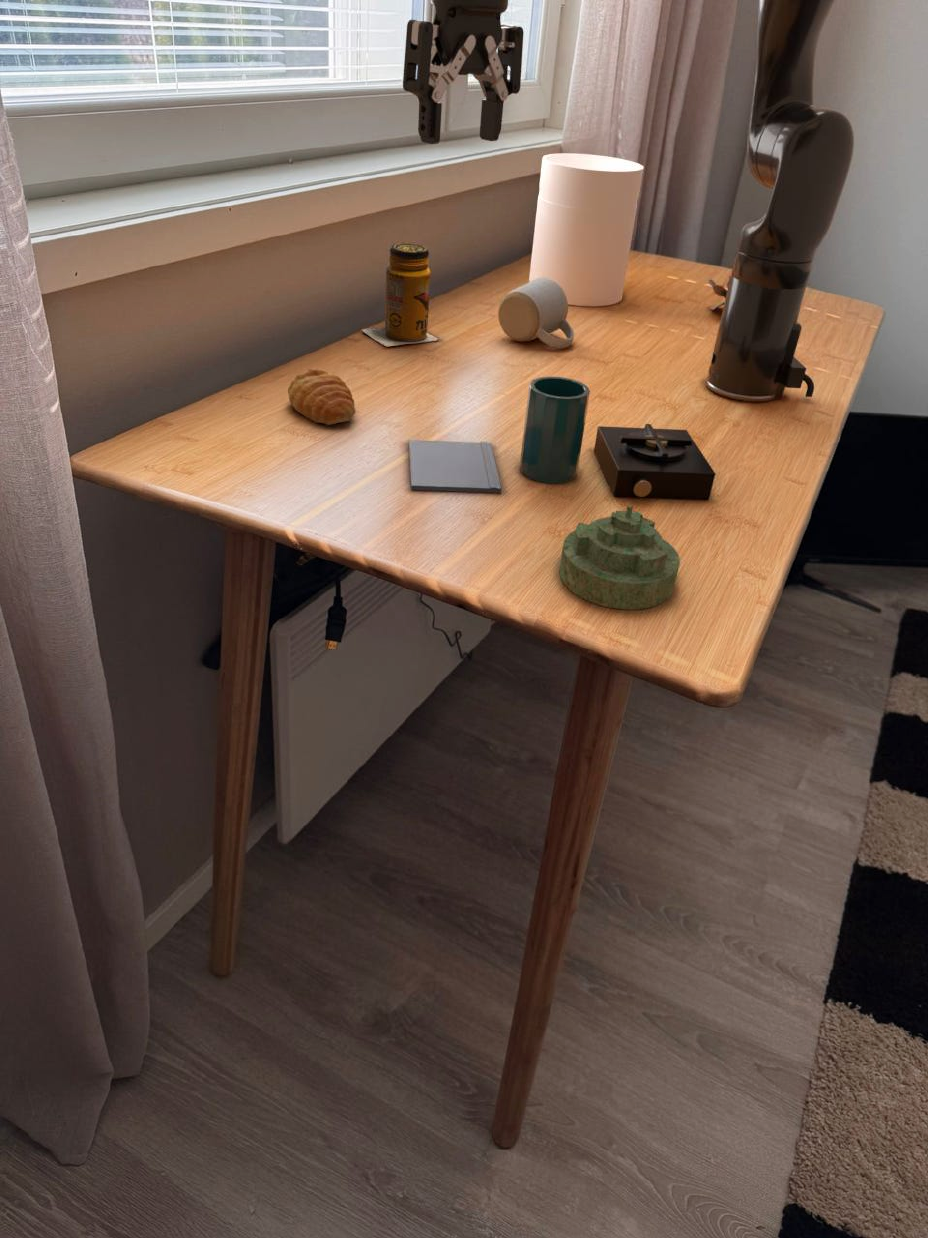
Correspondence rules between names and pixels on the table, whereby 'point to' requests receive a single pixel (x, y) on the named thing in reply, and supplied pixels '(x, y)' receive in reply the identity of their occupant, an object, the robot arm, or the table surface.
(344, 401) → the pastry
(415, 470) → the grey notebook
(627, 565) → the decorative artifact
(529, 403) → the dark teal cup
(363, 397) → the table surface
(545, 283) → the ceramic mug
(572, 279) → the canister
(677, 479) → the stove
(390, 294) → the condiment
